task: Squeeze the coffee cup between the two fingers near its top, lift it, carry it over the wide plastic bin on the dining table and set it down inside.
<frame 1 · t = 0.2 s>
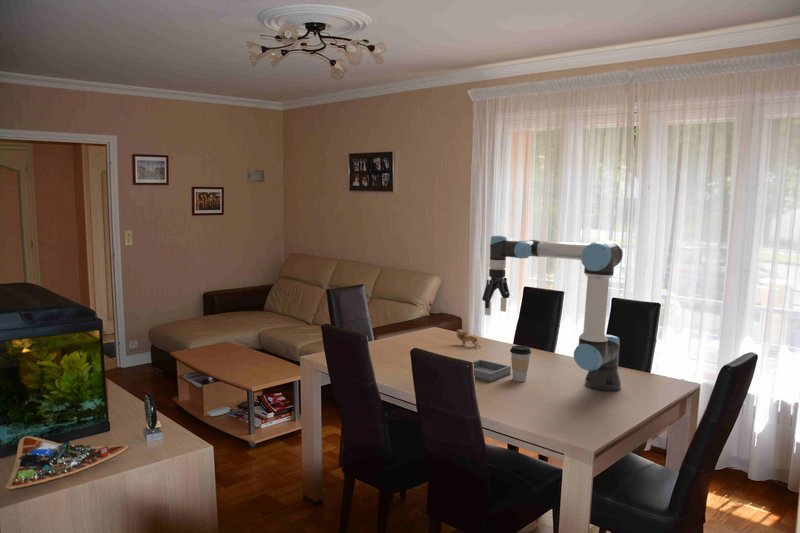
hand: (495, 313, 286), 27 cm above the table, fingers open, 13 cm apart
bin: (484, 374, 280), on the table
coffee cup: (519, 380, 274), on the table
lion figurine: (467, 347, 333), on the table
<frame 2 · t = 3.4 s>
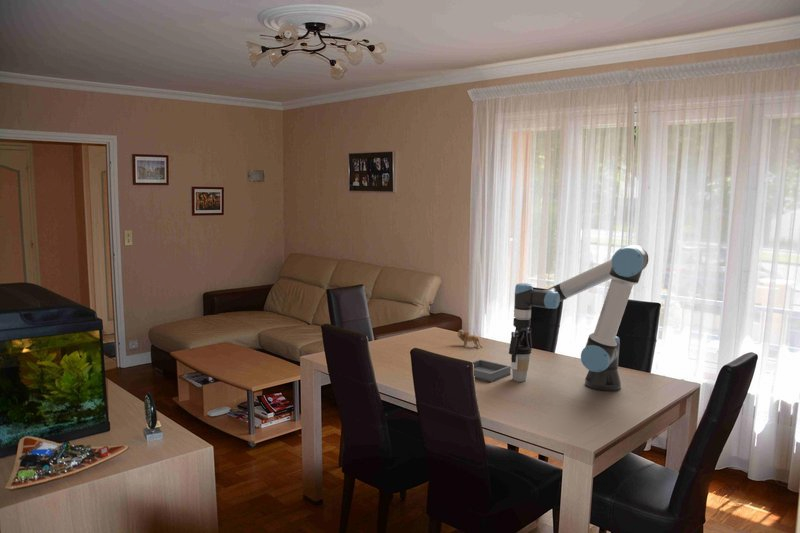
hand: (519, 366, 273), 6 cm above the table, fingers closed on coffee cup, 9 cm apart
coffee cup: (519, 380, 274), on the table, touching gripper
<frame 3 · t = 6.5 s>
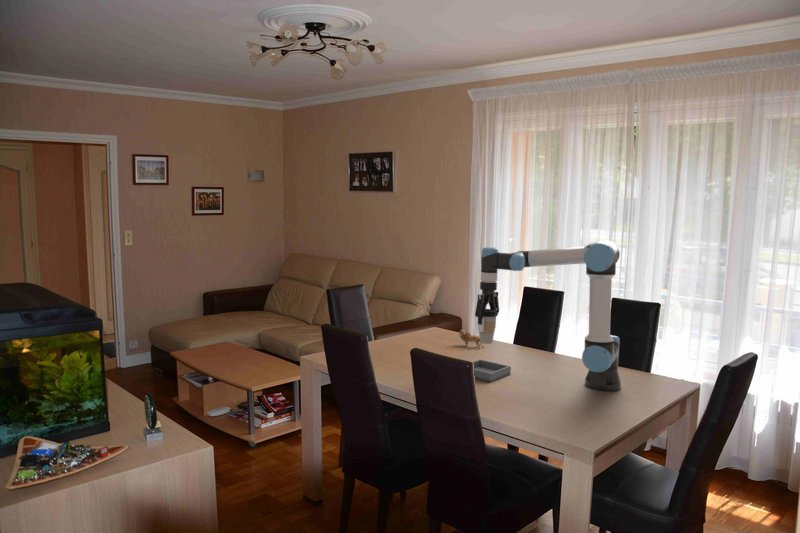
hand: (486, 329, 278), 21 cm above the table, fingers closed on coffee cup, 9 cm apart
coffee cup: (486, 342, 279), point 15 cm above the table, touching gripper
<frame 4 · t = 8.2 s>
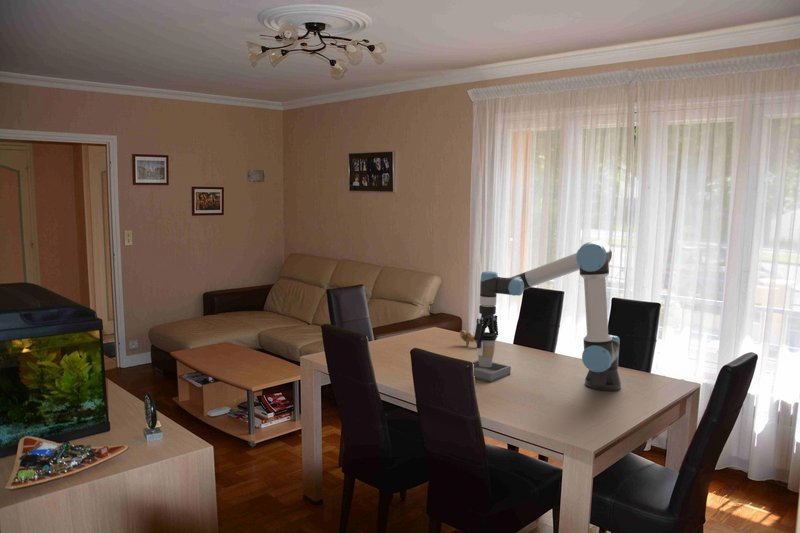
hand: (485, 353, 279), 10 cm above the table, fingers closed on coffee cup, 9 cm apart
coffee cup: (485, 366, 280), point 4 cm above the table, touching gripper
when the fingers open (8 cm above the table, at t = 9.6 s): coffee cup drops 1 cm, resting on bin.
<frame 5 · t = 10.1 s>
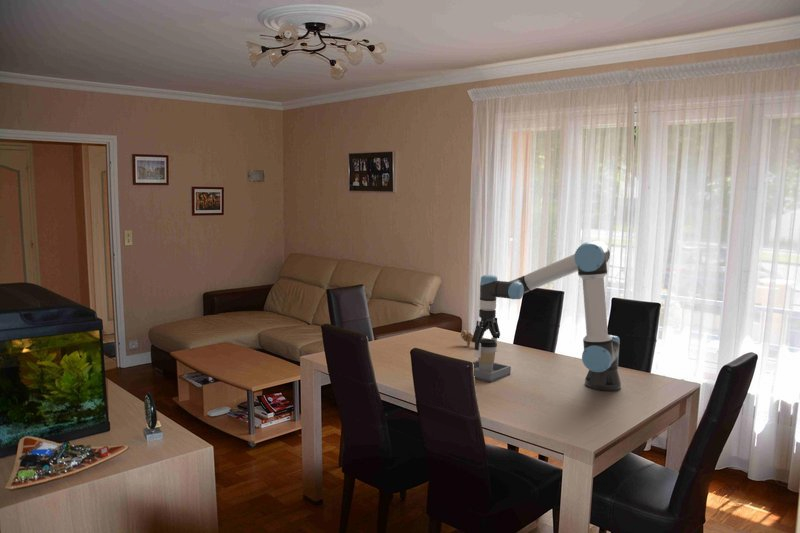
hand: (485, 354, 279), 10 cm above the table, fingers open, 13 cm apart
coffee cup: (485, 372, 281), point 1 cm above the table, touching bin
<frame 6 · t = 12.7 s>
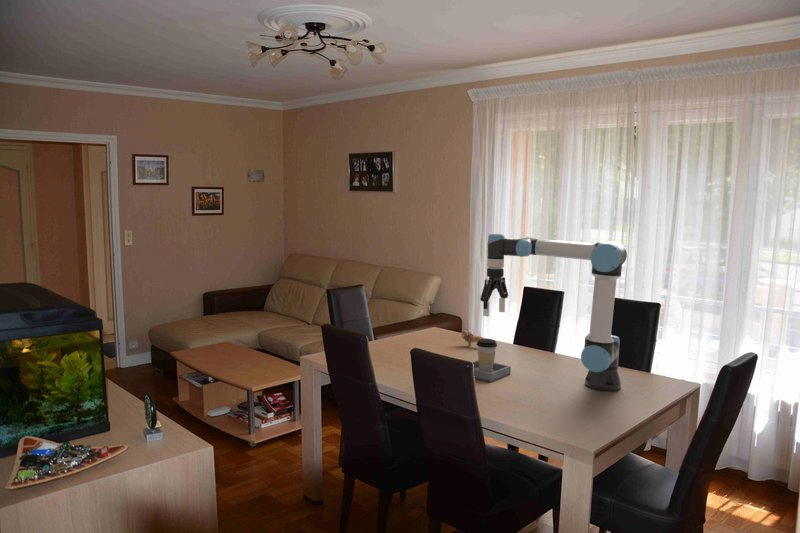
hand: (494, 314, 277), 29 cm above the table, fingers open, 13 cm apart
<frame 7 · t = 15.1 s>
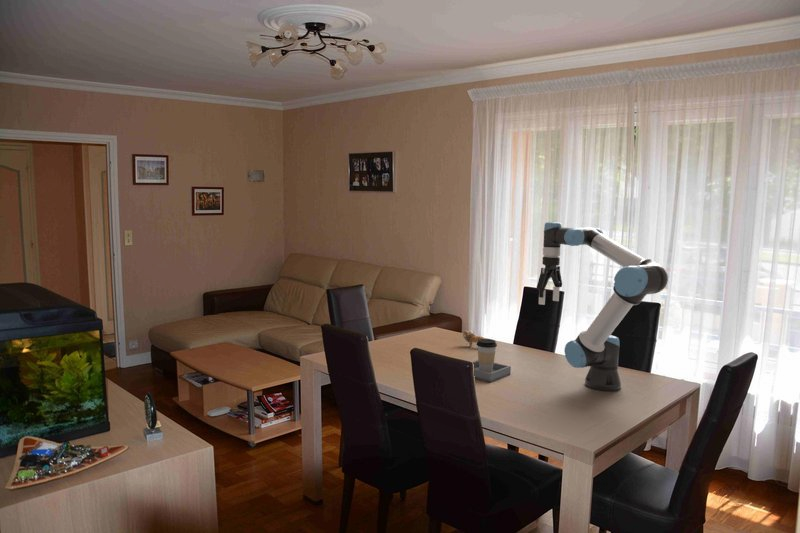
hand: (548, 302, 276), 35 cm above the table, fingers open, 13 cm apart
at the end: coffee cup inside the target area on the bin (0.4 cm from its centre), point 0.8 cm above the bin's base; coffee cup tilted 0°; the gripper is holding nothing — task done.
